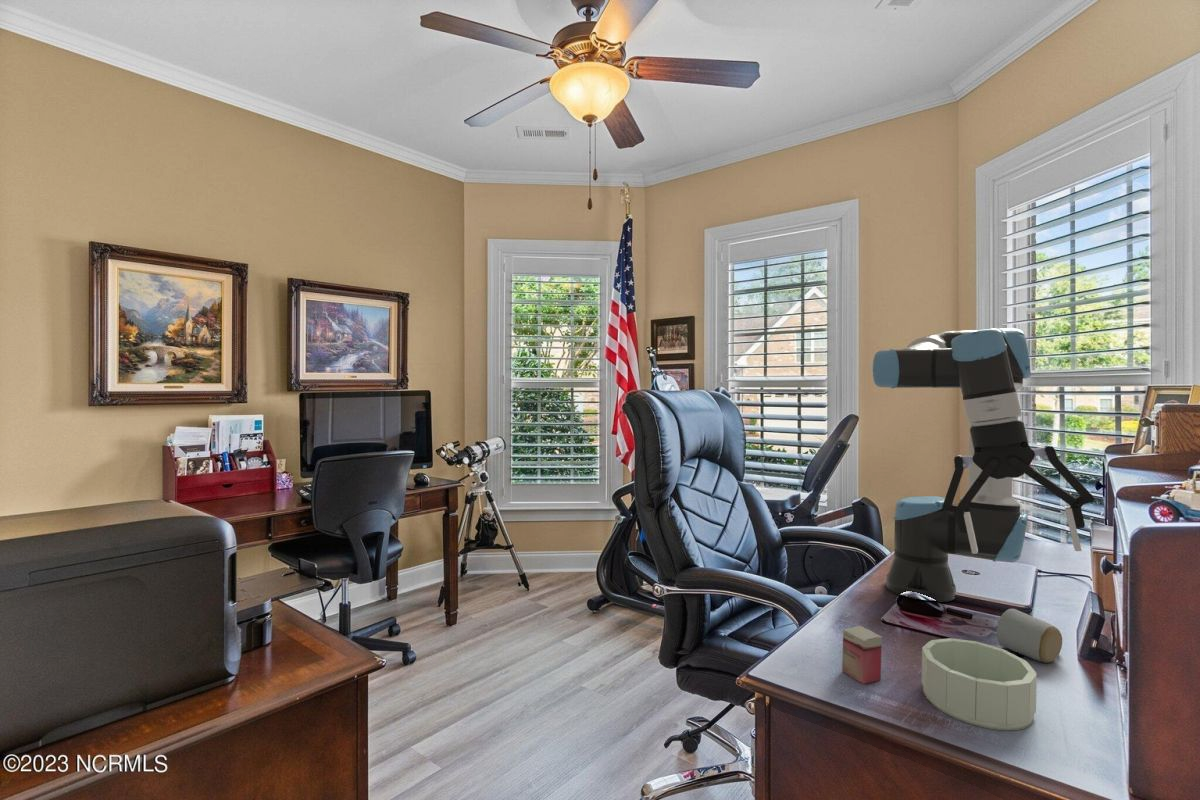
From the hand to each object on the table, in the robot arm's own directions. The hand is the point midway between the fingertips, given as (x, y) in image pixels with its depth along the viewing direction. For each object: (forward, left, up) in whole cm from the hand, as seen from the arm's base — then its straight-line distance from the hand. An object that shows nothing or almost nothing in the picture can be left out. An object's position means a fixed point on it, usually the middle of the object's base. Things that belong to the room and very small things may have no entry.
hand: (1024, 550), depth 92 cm
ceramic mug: (-13, +16, -25) cm, 32 cm away
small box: (-12, -21, -25) cm, 35 cm away
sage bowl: (-1, -8, -25) cm, 26 cm away
